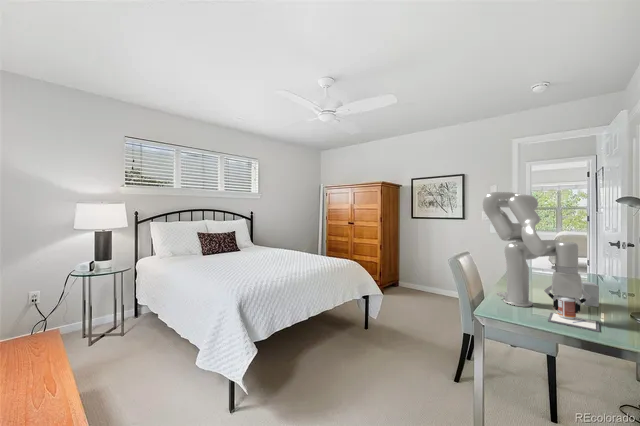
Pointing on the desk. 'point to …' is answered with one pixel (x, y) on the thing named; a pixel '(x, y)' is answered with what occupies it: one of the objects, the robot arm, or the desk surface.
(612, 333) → the desk surface
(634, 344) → the desk surface
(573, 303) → the pill bottle
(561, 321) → the writing mat
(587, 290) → the small box
